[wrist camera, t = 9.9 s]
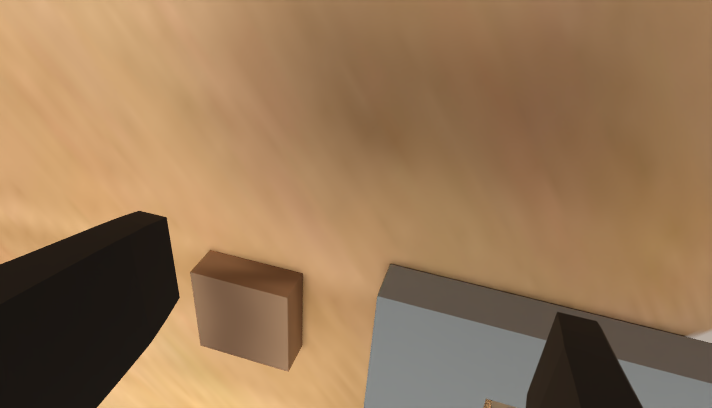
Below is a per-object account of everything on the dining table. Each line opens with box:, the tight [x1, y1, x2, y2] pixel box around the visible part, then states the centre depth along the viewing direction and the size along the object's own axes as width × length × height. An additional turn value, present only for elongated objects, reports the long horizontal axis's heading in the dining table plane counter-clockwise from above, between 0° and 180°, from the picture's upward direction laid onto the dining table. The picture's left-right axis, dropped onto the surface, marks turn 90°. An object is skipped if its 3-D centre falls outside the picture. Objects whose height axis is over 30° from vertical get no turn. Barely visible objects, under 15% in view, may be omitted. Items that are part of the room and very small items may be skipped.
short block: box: [190, 250, 303, 372], centre depth 24 cm, size 4×4×2 cm
